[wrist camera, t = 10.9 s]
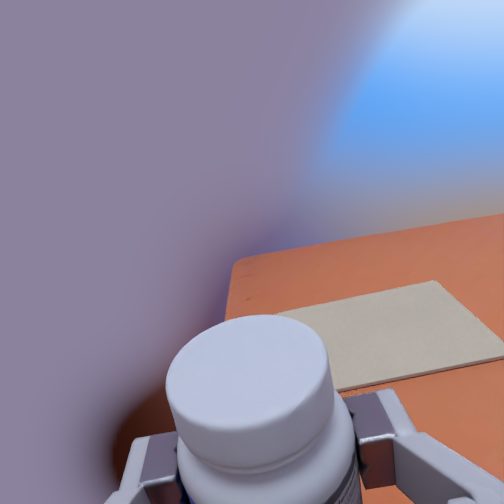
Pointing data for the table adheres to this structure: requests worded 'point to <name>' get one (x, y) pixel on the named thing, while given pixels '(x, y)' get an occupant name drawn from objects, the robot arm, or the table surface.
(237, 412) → the pill bottle
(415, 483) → the robot arm
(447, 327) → the cream mat
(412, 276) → the table surface
